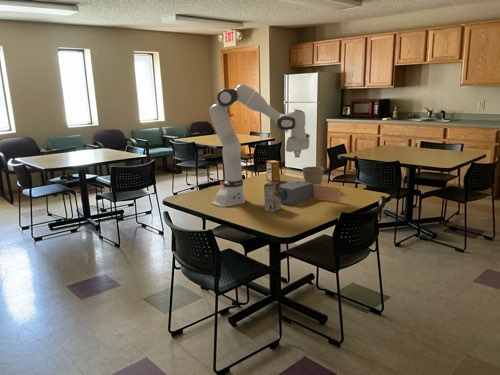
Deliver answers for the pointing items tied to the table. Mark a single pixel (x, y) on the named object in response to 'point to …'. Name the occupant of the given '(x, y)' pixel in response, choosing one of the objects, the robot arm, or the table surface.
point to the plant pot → (313, 174)
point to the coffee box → (272, 196)
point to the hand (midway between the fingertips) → (297, 157)
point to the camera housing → (296, 192)
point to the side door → (326, 192)
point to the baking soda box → (272, 171)
